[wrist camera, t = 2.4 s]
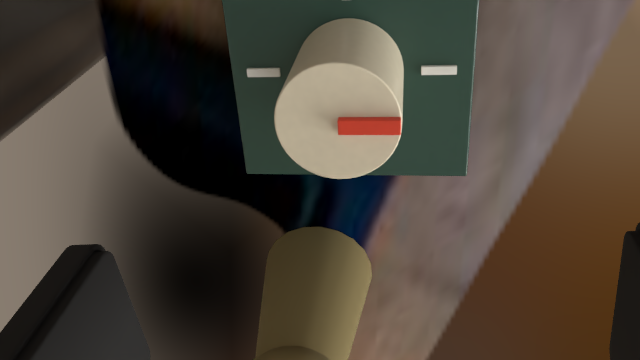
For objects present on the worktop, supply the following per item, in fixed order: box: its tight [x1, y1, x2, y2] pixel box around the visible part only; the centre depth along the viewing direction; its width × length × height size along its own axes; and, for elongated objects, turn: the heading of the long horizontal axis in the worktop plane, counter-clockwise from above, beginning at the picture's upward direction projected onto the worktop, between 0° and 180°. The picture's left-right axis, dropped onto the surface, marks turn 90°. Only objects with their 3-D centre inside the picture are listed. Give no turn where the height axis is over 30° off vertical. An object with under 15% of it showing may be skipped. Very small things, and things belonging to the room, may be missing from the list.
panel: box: [222, 0, 479, 176], centre depth 26 cm, size 10×10×3 cm
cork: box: [253, 227, 372, 360], centre depth 30 cm, size 6×6×11 cm
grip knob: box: [274, 18, 404, 179], centre depth 23 cm, size 4×4×5 cm
